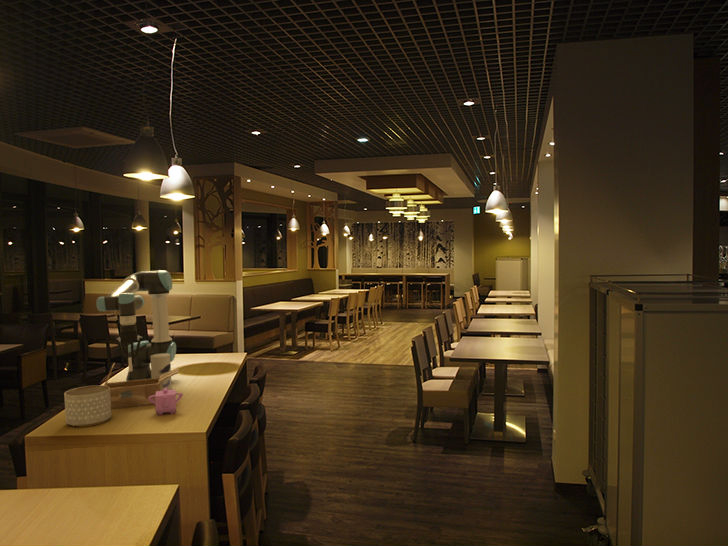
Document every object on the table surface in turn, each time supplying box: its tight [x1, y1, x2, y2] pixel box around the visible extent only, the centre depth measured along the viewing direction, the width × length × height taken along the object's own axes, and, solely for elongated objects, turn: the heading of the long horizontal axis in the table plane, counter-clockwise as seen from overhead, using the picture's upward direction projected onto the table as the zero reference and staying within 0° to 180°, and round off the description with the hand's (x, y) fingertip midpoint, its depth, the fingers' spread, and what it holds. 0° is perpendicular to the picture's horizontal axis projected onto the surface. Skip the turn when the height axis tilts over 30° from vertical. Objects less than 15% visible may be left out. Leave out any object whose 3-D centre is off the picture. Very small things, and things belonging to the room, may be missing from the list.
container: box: [150, 353, 173, 391], centre depth 312 cm, size 10×10×20 cm
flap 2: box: [159, 367, 180, 382], centre depth 296 cm, size 12×1×10 cm
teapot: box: [148, 388, 184, 416], centre depth 272 cm, size 15×13×11 cm
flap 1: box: [103, 362, 116, 386], centre depth 287 cm, size 12×1×10 cm, turn 18°
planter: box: [63, 384, 112, 427], centre depth 261 cm, size 19×19×14 cm
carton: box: [105, 378, 161, 410], centre depth 290 cm, size 16×26×10 cm, turn 108°
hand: (130, 370), depth 290 cm, fingers closed
